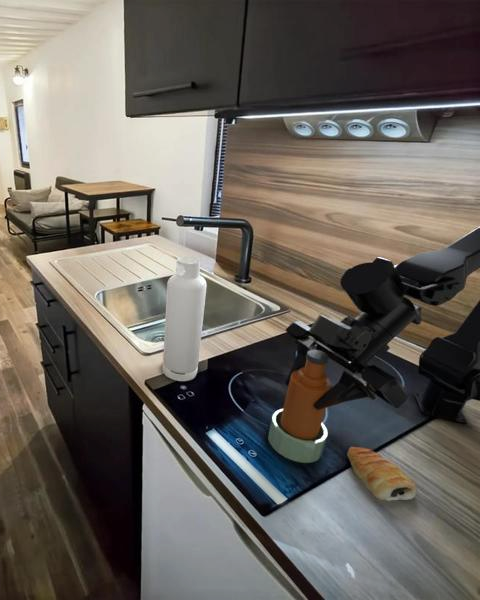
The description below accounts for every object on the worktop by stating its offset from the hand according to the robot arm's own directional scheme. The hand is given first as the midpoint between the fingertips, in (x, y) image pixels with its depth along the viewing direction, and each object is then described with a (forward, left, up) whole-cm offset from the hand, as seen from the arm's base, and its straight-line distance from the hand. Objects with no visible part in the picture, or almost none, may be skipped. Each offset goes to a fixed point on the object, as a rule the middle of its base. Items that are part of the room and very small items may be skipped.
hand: (300, 395), depth 60 cm
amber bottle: (-1, +1, -7) cm, 7 cm away
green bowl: (-1, +1, -12) cm, 12 cm away
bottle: (-15, -23, -12) cm, 30 cm away
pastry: (+2, +13, -12) cm, 17 cm away
